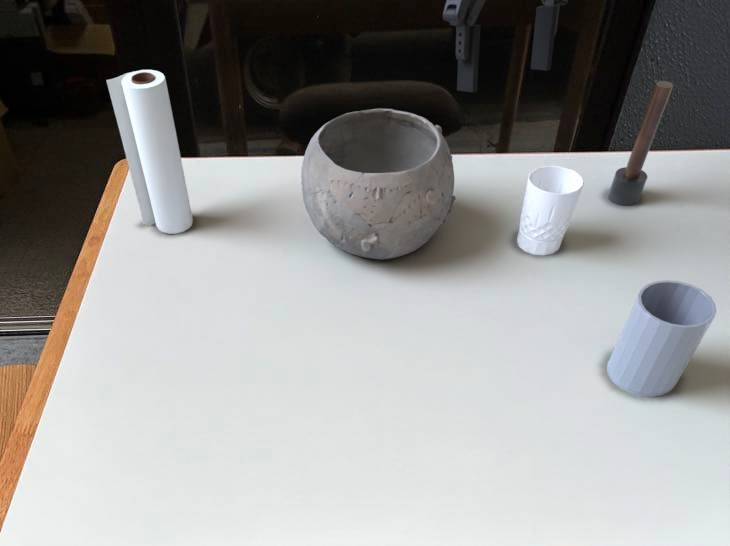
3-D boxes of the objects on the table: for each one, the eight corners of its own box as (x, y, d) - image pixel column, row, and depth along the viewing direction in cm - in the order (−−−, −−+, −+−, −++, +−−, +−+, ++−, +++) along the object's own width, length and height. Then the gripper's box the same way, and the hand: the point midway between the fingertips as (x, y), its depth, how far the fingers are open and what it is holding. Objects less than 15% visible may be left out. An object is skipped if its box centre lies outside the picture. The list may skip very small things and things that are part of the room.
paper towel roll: (200, 221, 108) (173, 73, 90) (176, 239, 105) (143, 90, 88) (168, 208, 110) (135, 62, 93) (144, 225, 108) (105, 78, 90)
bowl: (278, 255, 102) (269, 155, 90) (340, 185, 114) (340, 87, 101) (414, 293, 97) (425, 192, 84) (466, 214, 108) (482, 115, 95)
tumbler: (682, 365, 87) (723, 293, 78) (666, 406, 83) (707, 336, 74) (617, 344, 89) (649, 272, 80) (598, 383, 85) (629, 312, 76)
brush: (641, 195, 110) (686, 81, 96) (633, 210, 108) (678, 94, 93) (612, 188, 111) (651, 74, 97) (603, 202, 109) (643, 87, 95)
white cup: (518, 225, 106) (534, 161, 97) (567, 235, 104) (587, 170, 96) (508, 252, 102) (523, 188, 93) (559, 262, 100) (579, 198, 92)
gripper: (571, -163, 76) (546, 59, 91) (411, -147, 67) (412, 97, 82) (627, -173, 72) (591, 62, 86) (464, -158, 62) (455, 103, 77)
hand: (504, 80), depth 84 cm, fingers open, 13 cm apart
